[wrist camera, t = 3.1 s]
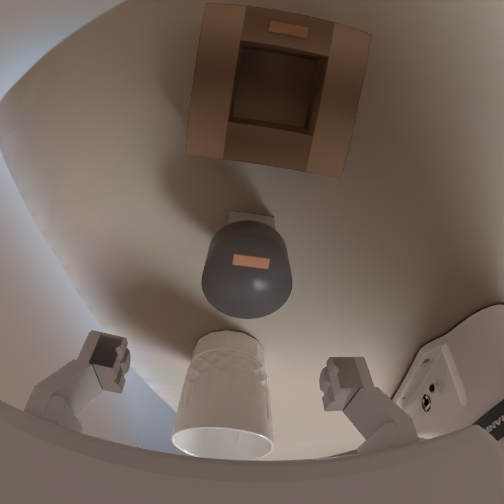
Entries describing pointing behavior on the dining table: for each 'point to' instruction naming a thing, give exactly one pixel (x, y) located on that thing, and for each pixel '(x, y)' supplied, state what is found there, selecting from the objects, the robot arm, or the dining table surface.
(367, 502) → the robot arm
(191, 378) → the white cup
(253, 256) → the knob
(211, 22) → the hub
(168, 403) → the dining table surface
